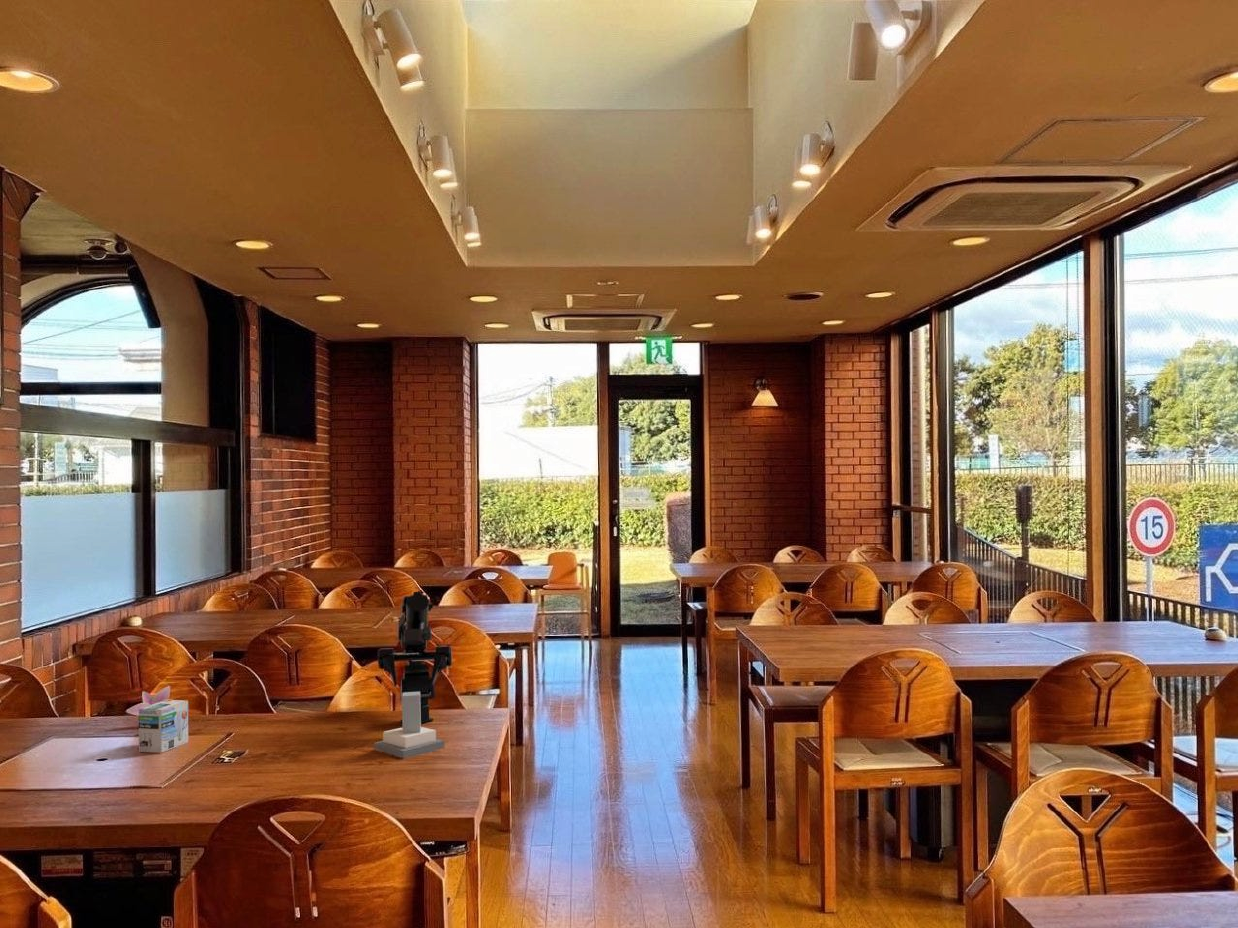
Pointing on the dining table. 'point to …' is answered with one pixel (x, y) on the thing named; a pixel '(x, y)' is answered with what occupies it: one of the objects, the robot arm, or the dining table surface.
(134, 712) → the lily
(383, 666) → the robot arm
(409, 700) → the slate block
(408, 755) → the square tray
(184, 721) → the light bulb box
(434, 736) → the off-white top slab
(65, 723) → the dining table surface
